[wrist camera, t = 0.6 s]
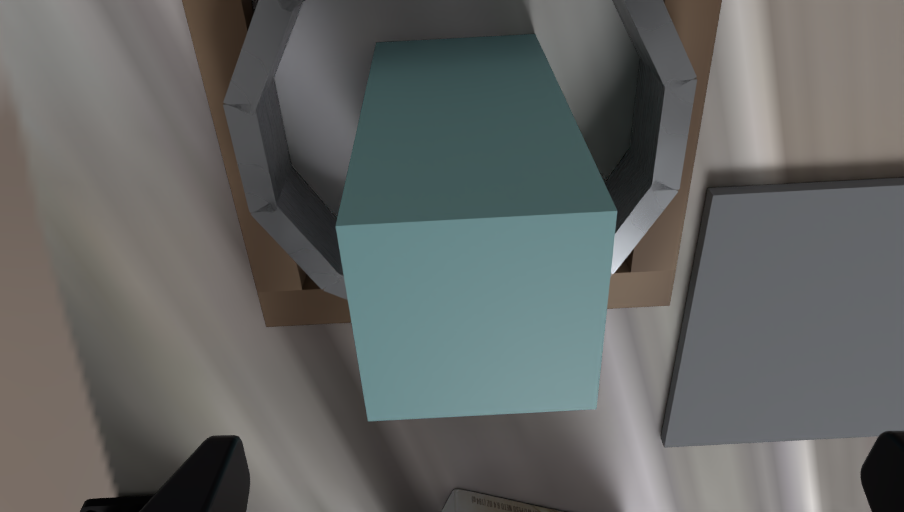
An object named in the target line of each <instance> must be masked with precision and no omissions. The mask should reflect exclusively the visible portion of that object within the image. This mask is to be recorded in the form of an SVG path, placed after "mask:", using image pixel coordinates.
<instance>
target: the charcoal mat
mask: <svg viewBox="0 0 904 512" xmlns="http://www.w3.org/2000/svg"><path fill="white" fill-rule="evenodd" d="M885 431H904V178H886V179H867V180H848V181H830V182H811V183H792V184H774V185H755V186H737V187H718V188H708V190H707V195H706V200H705V206H704V211H703V216H702V222H701V227H700V232H699V238H698V243H697V248H696V254H695V259H694V264H693V269H692V275H691V280H690V285H689V291H688V296H687V301H686V307H685V312H684V317H683V323H682V328H681V333H680V339H679V344H678V349H677V355H676V360H675V365H674V371H673V376H672V381H671V387H670V392H669V397H668V403H667V408H666V413H665V418H664V424H663V429H662V434H661V440H662V443H663V445H664V447H682V446H701V445H719V444H738V443H757V442H776V441H795V440H814V439H833V438H852V437H870V436H879V435H880V434H881V433H883V432H885Z"/></svg>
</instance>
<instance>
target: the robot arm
mask: <svg viewBox="0 0 904 512" xmlns="http://www.w3.org/2000/svg"><path fill="white" fill-rule="evenodd" d="M861 483H862V486H863V489H864V492H865V495H866V497H867V500H868V503H869V505H870V508H871V511H872V512H904V431H885V432H883V433H881V434H880V435H879V437H878V438H877V440H876V442H875V443H874V445H873V447H872V449H871V451H870V453H869V454H868V456H867V458H866V460H865V462H864V463H863V465H862V468H861ZM249 489H250V473H249V469H248V464H247V460H246V456H245V452H244V447H243V443H242V441H241V439H240V437H238V436H235V435H220V436H211V437H209V438H207V439H206V440H205V441H204V442H203V443H202V444H201V445H200V446H199V447H198V448H197V449H196V450H195V452H194V453H193V454H192V455H191V456H190V457H189V458H188V459H187V460H186V461H185V462H184V463H183V465H182V466H181V467H180V468H179V469H178V470H177V471H176V472H175V473H174V474H173V475H172V476H171V478H170V479H169V480H168V481H167V482H166V483H165V484H164V485H163V486H162V487H161V488H160V489H159V491H158V492H157V493H156V494H155V495H154V496H135V497H116V498H98V499H89V500H86V501H85V502H84V504H83V506H82V508H81V510H80V512H246V509H247V503H248V496H249Z"/></svg>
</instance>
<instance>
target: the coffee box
mask: <svg viewBox="0 0 904 512" xmlns="http://www.w3.org/2000/svg"><path fill="white" fill-rule="evenodd" d="M442 512H562V511H557V510H553V509H548V508H543V507H539V506H534V505H530V504H525V503H521V502H517V501H512V500H508V499H503V498H498V497H494V496H489V495H485V494H480V493H476V492H471V491H466V490H460V489H455V490H453V492H452V493H451V495H450V496H449V498H448V500H447V502H446V504H445V506H444V508H443V510H442Z"/></svg>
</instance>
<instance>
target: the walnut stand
mask: <svg viewBox="0 0 904 512" xmlns="http://www.w3.org/2000/svg"><path fill="white" fill-rule="evenodd" d="M182 2H183V6H184V10H185V14H186V18H187V22H188V26H189V29H190V33H191V37H192V41H193V45H194V49H195V53H196V57H197V60H198V64H199V68H200V72H201V76H202V80H203V84H204V88H205V91H206V95H207V99H208V103H209V107H210V111H211V115H212V119H213V122H214V126H215V130H216V134H217V138H218V142H219V146H220V150H221V153H222V157H223V161H224V165H225V169H226V173H227V177H228V180H229V184H230V188H231V192H232V196H233V200H234V204H235V208H236V211H237V215H238V219H239V223H240V227H241V231H242V235H243V239H244V242H245V246H246V250H247V254H248V258H249V262H250V266H251V270H252V273H253V277H254V281H255V285H256V289H257V293H258V297H259V301H260V304H261V308H262V312H263V316H264V320H265V324H266V327H276V326H294V325H313V324H332V323H351V316H350V310H349V304H348V300H346V299H344V298H341V297H338V296H336V295H333V294H331V293H328V292H325V291H324V289H321V288H320V287H319V286H318V285H317V284H316V283H315V282H314V281H313V280H312V279H311V278H310V277H309V276H308V275H307V274H306V273H305V271H304V270H303V269H302V268H301V267H300V266H299V265H298V264H297V263H296V262H295V261H294V260H293V259H292V258H291V257H290V256H289V255H288V254H287V252H286V251H285V250H284V249H283V248H282V247H281V246H280V245H279V244H278V243H277V242H276V241H275V240H274V239H273V238H272V237H271V236H270V235H269V233H268V232H267V231H266V230H265V229H264V228H263V227H262V226H261V225H260V224H259V223H258V222H257V221H256V220H255V219H254V218H253V217H252V215H251V213H249V209H248V204H247V200H246V196H245V192H244V188H243V184H242V180H241V176H240V172H239V168H238V164H237V160H236V156H235V152H234V148H233V144H232V139H231V135H230V131H229V127H228V123H227V119H226V115H225V111H224V107H223V104H224V103H223V101H224V98H225V96H226V93H227V90H228V87H229V84H230V81H231V78H232V75H233V72H234V70H235V67H236V64H237V61H238V58H239V55H240V52H241V49H242V46H243V43H244V41H245V38H246V35H247V32H248V29H249V26H250V23H251V20H252V17H253V15H254V11H253V6H252V1H251V0H182ZM663 2H664V4H665V6H666V8H667V11H668V13H669V15H670V17H671V20H672V22H673V24H674V26H675V29H676V31H677V33H678V35H679V38H680V40H681V42H682V44H683V47H684V49H685V51H686V53H687V56H688V58H689V60H690V63H691V65H692V67H693V69H694V72H695V74H696V76H697V77H696V79H697V84H696V90H695V96H694V102H693V108H692V115H691V121H690V127H689V133H688V139H687V145H686V152H685V158H684V164H683V170H682V176H681V183H680V189H679V190H678V193H677V194H676V195H675V197H674V198H673V199H672V200H671V202H670V203H669V204H668V205H667V207H666V208H665V209H664V211H663V212H662V213H661V214H660V216H659V217H658V218H657V219H656V221H655V222H654V223H653V225H652V226H651V227H650V228H649V230H648V231H647V232H646V233H645V235H644V236H643V237H642V239H641V240H640V241H639V242H638V244H637V245H636V246H635V247H634V249H633V250H632V251H631V253H630V254H629V255H628V256H627V258H626V259H625V260H624V261H623V263H622V264H621V265H620V266H619V268H618V269H617V270H616V272H615V273H614V274H612V273H611V275H612V276H610V285H609V295H608V304H607V309H613V308H632V307H650V306H669V305H670V301H671V295H672V289H673V283H674V277H675V271H676V266H677V260H678V254H679V248H680V242H681V236H682V231H683V225H684V219H685V213H686V207H687V201H688V195H689V190H690V184H691V178H692V172H693V166H694V160H695V155H696V149H697V143H698V137H699V131H700V125H701V119H702V114H703V108H704V102H705V96H706V90H707V84H708V79H709V73H710V67H711V61H712V55H713V49H714V43H715V38H716V32H717V26H718V20H719V14H720V8H721V3H722V0H663Z"/></svg>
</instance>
